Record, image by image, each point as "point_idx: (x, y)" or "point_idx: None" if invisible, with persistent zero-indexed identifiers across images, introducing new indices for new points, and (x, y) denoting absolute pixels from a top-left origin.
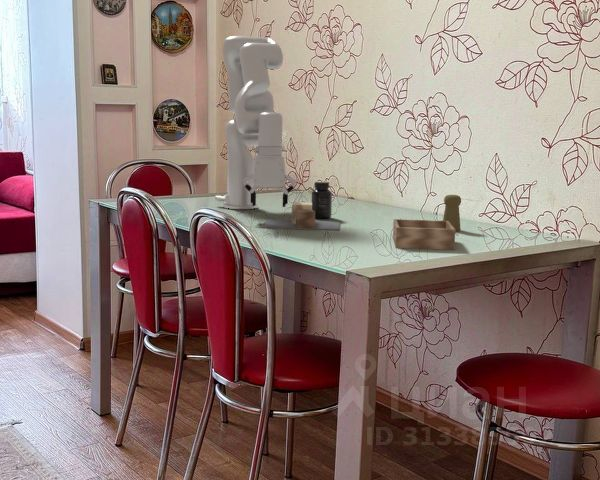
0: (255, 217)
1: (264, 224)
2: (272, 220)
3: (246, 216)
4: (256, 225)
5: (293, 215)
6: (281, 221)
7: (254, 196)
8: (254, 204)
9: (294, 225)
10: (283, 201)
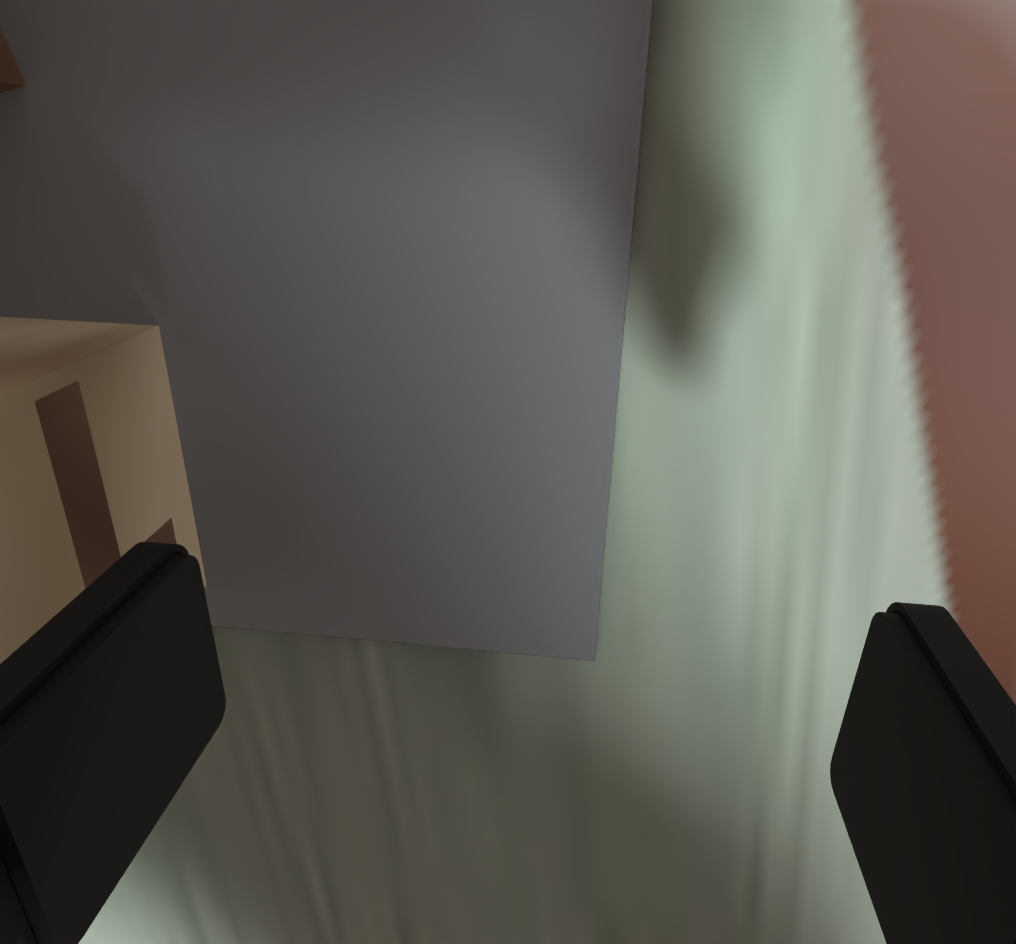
0: (745, 832)
1: (599, 104)
2: (494, 564)
3: (863, 889)
4: (757, 84)
5: (42, 364)
6: (349, 490)
7: (1002, 805)
8: (893, 622)
9: (49, 95)
10: (98, 613)
